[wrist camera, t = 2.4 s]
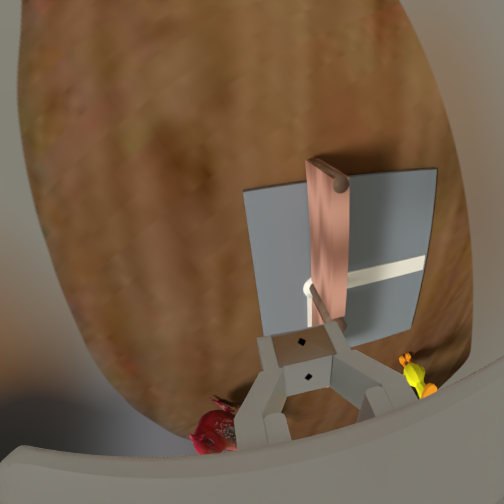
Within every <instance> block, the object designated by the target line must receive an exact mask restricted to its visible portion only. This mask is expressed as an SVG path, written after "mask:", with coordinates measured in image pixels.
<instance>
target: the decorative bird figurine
mask: <svg viewBox="0 0 504 504" xmlns="http://www.w3.org/2000/svg"><path fill="white" fill-rule="evenodd" d="M210 399H211V398H210ZM211 400H212V401H215V402H216V403H217V405H219V406H221V407H222V408H223V409H224V410H225V411H223V410H214V411H210V412H208V413H206V414H205V415H203V416H202V417H201V419H200V420H199V423H198V426H197V428H196V430H195V432H194V435H192V434H189V436H190V438H191V439H192V441H193V445H194V448H195V450H196V451H197V452H198V453H199V454H200V455H203V454H213V453H221V452H222V451H223V450H237V442H236V434H235V426H234V418H235V415H233V414H232V413H231V412H234V411H235V410H231V408H230V407H228V406H227V405H225V404H224V403H223V402H221V401H216V400H213V399H211ZM230 411H231V412H230Z"/></svg>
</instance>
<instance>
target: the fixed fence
mask: <svg viewBox="0 0 504 504" xmlns="http://www.w3.org/2000/svg"><path fill="white" fill-rule="evenodd" d="M309 290H310V292H311V294H312V296H313V298H312V326H316V325H320V324H324V323H328V322H332V321H335V322H337V324H338V326H339V328H340V330H341V331H342V333H343V332H344V331H345V330H346V328H347V324H346V322H345V320H344V318H343V317H339V318H335V319H331V317H330V315H329V313H328V311H327V309H326V307H325V305H324V303H323V301H322V300H321V298H320V296H319V294H318V292H317V290H316V288H315V286H314V284H313V283H312V284H311V285H310V288H309ZM328 387H330V386H328Z"/></svg>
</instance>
